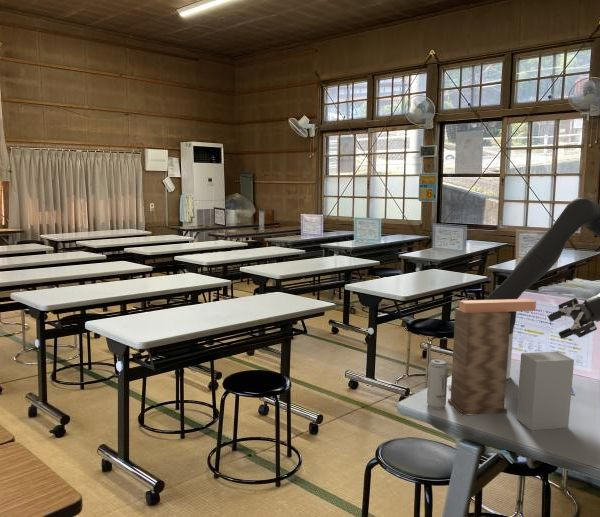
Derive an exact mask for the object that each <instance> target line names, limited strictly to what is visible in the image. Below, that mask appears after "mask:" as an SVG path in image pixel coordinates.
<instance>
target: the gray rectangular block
mask: <svg viewBox="0 0 600 517" xmlns="http://www.w3.org/2000/svg"><path fill="white" fill-rule="evenodd" d="M574 364H575V359H573V358H571V357H569V356H567V355H565V354H563V353H561V352H559V351H538V352H521V353H520V363H519V366H520V367H519V376H518V377H519V380H518V393H517V408H516V420H517V421H519V422H520V423H521V424H523V425H524V426H525V427H526V428H528V429H530V431H541V430H553V429H568V428H569V424H570V422H569V421H570V411H571V410H570V409H571V402H572V394H571V390H572V388H573V376H574Z"/></svg>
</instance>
